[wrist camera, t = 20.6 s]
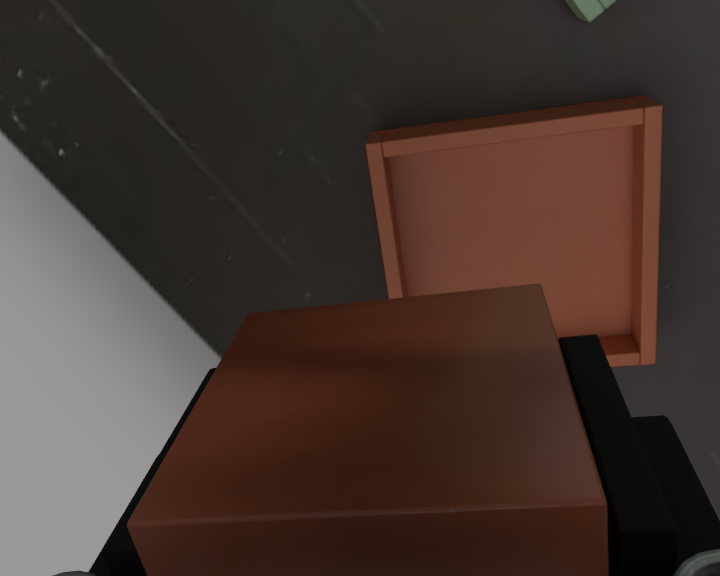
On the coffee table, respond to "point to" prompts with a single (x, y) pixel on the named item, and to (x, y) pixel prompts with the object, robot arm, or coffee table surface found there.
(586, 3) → the sage tray
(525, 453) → the block
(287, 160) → the coffee table surface
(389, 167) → the terracotta tray
